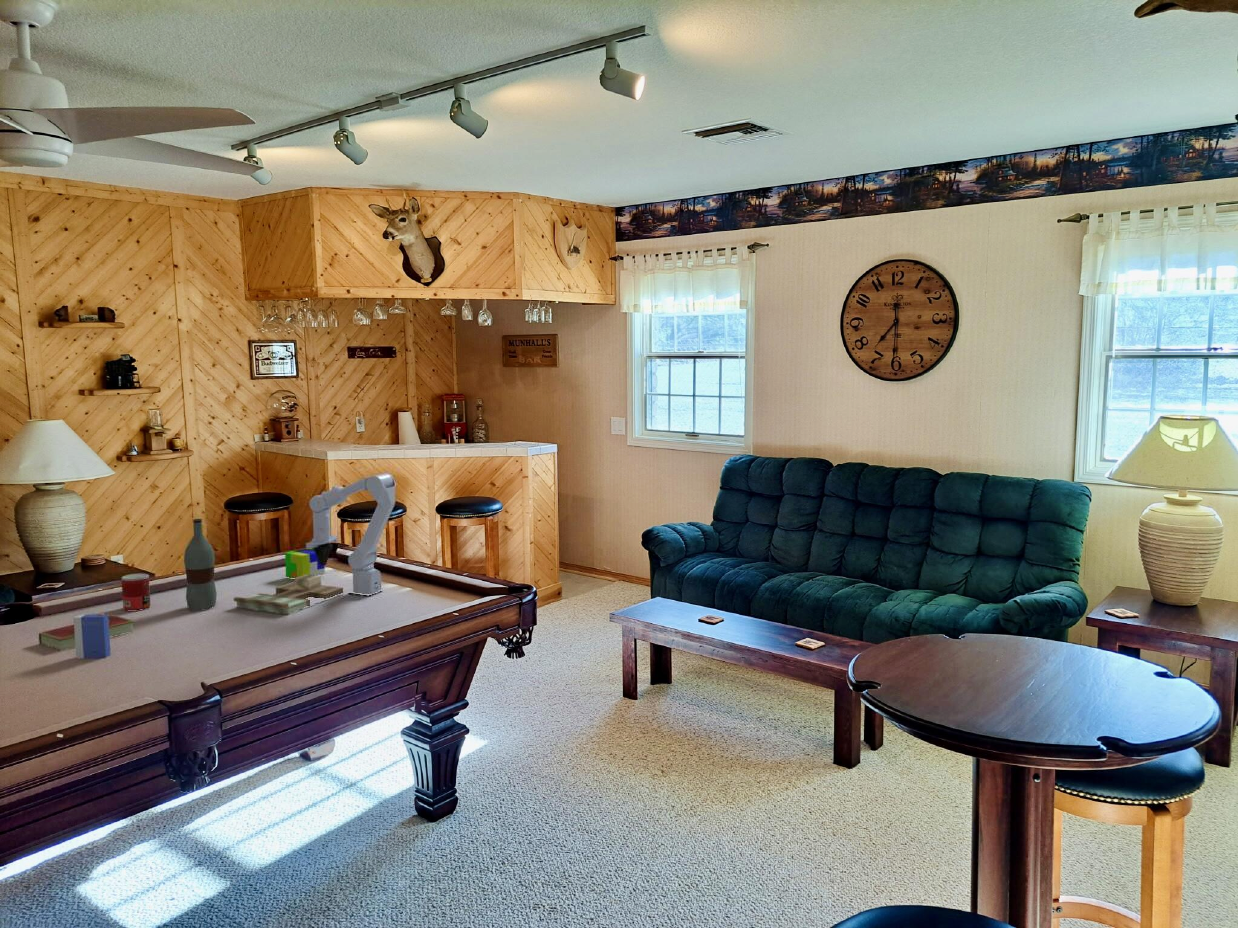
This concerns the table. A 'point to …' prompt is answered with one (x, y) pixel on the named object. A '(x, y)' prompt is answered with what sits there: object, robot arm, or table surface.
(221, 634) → the table surface
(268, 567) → the table surface
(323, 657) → the table surface
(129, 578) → the canned food
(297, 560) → the puzzle toy
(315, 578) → the maple block
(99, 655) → the walkman
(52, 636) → the hardcover book
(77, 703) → the table surface
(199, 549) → the bottle
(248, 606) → the trap deck
